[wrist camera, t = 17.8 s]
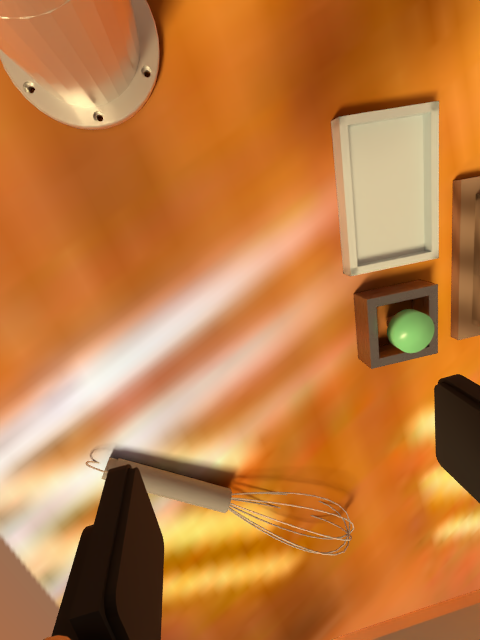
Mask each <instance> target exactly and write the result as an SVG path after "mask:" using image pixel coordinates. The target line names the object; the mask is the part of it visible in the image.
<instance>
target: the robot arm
mask: <svg viewBox="0 0 480 640" xmlns="http://www.w3.org/2000/svg"><path fill="white" fill-rule="evenodd" d="M159 58H160V49H159V39H158V34H157V29H156V24H155V20H154V18H153V15H152V12H151V10H150V7H149V4H148V3H147V1H146V0H0V59H1V62H2V64H3V66H4V69H5V70H6V72H7V74H8V75H9V77H10V79H11V80H12V82H13V83H14V85H15V86H16V87H17V88H18V90H19V91H20V92H21V93H22V94H23V96H24V97H25V98H26V99H27V100H28V101H30V102H31V103H32V104H33V105H34V106H35V107H36V108H38V109H39V110H40V111H42V112H43V113H45V114H46V115H47V116H49V117H51V118H53V119H55V120H57V121H59V122H61V123H62V124H65V125H68V126H72V127H75V128H79V129H88V130H97V129H107V128H110V127H113V126H116V125H119V124H121V123H123V122H125V121H126V120H128V119H130V118H132V117H133V116H134V115H135V114H136V113H137V112H138V111H139V110H140V109H141V108H142V107H143V106H144V104H145V103H146V101H147V100H148V98H149V97H150V95H151V93H152V90H153V88H154V86H155V83H156V79H157V75H158V71H159ZM146 72H149V73H150V77H145V73H146ZM31 88H35V91H34V93H31V92H30V90H31ZM99 116H102V117H103V121H101V122H100V121H98V117H99ZM434 396H435V439H436V457H437V460H438V462H439V463H440V465H441V466H442V467H443V468H444V469H445V470H446V471H447V472H448V473H449V474H450V475H451V476H452V477H453V478H454V479H455V480H456V481H457V482H458V483H459V484H460V485H461V486H462V487H463V488H464V489H465V490H466V491H468V492H469V493H470V494H471V495H472V496H473V497H474V498H475V499H476V500H477V501H478V502H479V503H480V386H479V385H478V384H476V383H474V382H472V381H471V380H469V379H467V378H466V377H464V376H462V375H460V374H456V375H453V376H449V377H445V378H442V379H440V380H439V381H438V385H436V386H435V389H434ZM163 565H164V542H163V536H162V533H161V530H160V528H159V525H158V522H157V519H156V516H155V513H154V511H153V508H152V505H151V502H150V499H149V496H148V493H147V491H146V488H145V485H144V482H143V479H142V476H141V474H140V471H139V469H138V467H135V468H132V467H131V465H130V464H126V465H123V466H119V467H115V468H112V469H109V471H108V473H107V477H106V481H105V484H104V488H103V492H102V496H101V500H100V503H99V507H98V511H97V515H96V518H95V522H94V525H91V526H87V527H86V528H85V529H84V530H83V532H82V535H81V538H80V541H79V545H78V548H77V552H76V555H75V558H74V562H73V565H72V569H71V572H70V575H69V579H68V582H67V586H66V589H65V592H64V596H63V599H62V603H61V606H60V609H59V613H58V616H57V620H56V623H55V626H54V630H53V633H52V636H51V637H48V638H46V639H44V640H161V618H162V592H163ZM332 640H480V589H479V590H476V591H473V592H470V593H467V594H464V595H461V596H458V597H455V598H452V599H449V600H446V601H443V602H440V603H437V604H434V605H431V606H428V607H425V608H422V609H419V610H416V611H413V612H410V613H408V614H405V615H402V616H399V617H396V618H393V619H390V620H387V621H384V622H381V623H378V624H375V625H372V626H369V627H366V628H363V629H360V630H358V631H355V632H352V633H349V634H346V635H343V636H340V637H337V638H334V639H332Z"/></svg>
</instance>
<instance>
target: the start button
mask: <svg viewBox="0 0 480 640" xmlns="http://www.w3.org/2000/svg"><path fill="white" fill-rule="evenodd" d="M387 327H388V328H387V336H388V339H389V341H390V343H391V344H392V345H394V346H395V347H397V348H399V349H400V350H402V351H404V352H406V353H416V352H419V351H421V350H422V349H424V348H425V347H426V346H427V345H428V344H429V343H430V341H431V340H432V338H433V335H434V323H433V321H432V319H431V318H430V317H429V316H428V315H427V314H424V313H422V312H419V311H417V310H414V309H405V310H402V311H400V312H398V313H397V314H396V315H393V316H390V317H389V318H388V320H387Z"/></svg>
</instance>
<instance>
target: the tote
mask: <svg viewBox="0 0 480 640" xmlns="http://www.w3.org/2000/svg"><path fill="white" fill-rule="evenodd" d="M331 128H332V140H333V152H334V164H335V177H336V189H337V201H338V213H339V225H340V238H341V250H342V262H343V273H344V274H346V275H349V276H354V275H359V274H364V273H369V272H374V271H378V270H383V269H388V268H393V267H398V266H402V265H407V264H412V263H417V262H422V261H426V260H431V259H436V258H439V101H435V102H428V103H422V104H416V105H409V106H403V107H397V108H391V109H384V110H378V111H372V112H365V113H359V114H353V115H347V116H340V117H338V118H336V119H334V120H333V121H331Z"/></svg>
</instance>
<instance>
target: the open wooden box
mask: <svg viewBox="0 0 480 640" xmlns="http://www.w3.org/2000/svg"><path fill="white" fill-rule="evenodd" d="M410 299H412V309H414V310H417V311H419V312H422V313H424V314H427V315H428V316H429V317H430V318H431V319H432V321H433V323H434V335H433V338H432V340H431V341H430V343H429V344H428V345H427V346H426V347H425V348H424V349H422V350H421V351H419V352H416V353H406V352H404V351H402V350H400V349H399V348H397V347H395V346H394V345H392V344H391V343H389V344H385V345H381V346H379V344H378V326H377V308H376V307H378V306H383V305H387V304H392V303H397V302H401V301H406V300H410ZM354 305H355V318H356V332H357V345H358V358H359V359H360V360H361V361H362V362H364V363H365V364H366V365H367V366H368V367H370V368H371V369H373V368H377V367H381V366H385V365H389V364H394V363H398V362H402V361H406V360H410V359H415V358H419V357H423V356H427V355H432V354H436V353H438V284H434V283H431V282H427V281H423V280H415V281H410V282H406V283H401V284H396V285H392V286H387V287H382V288H378V289H373V290H368V291H364V292H359V293H354Z"/></svg>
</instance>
